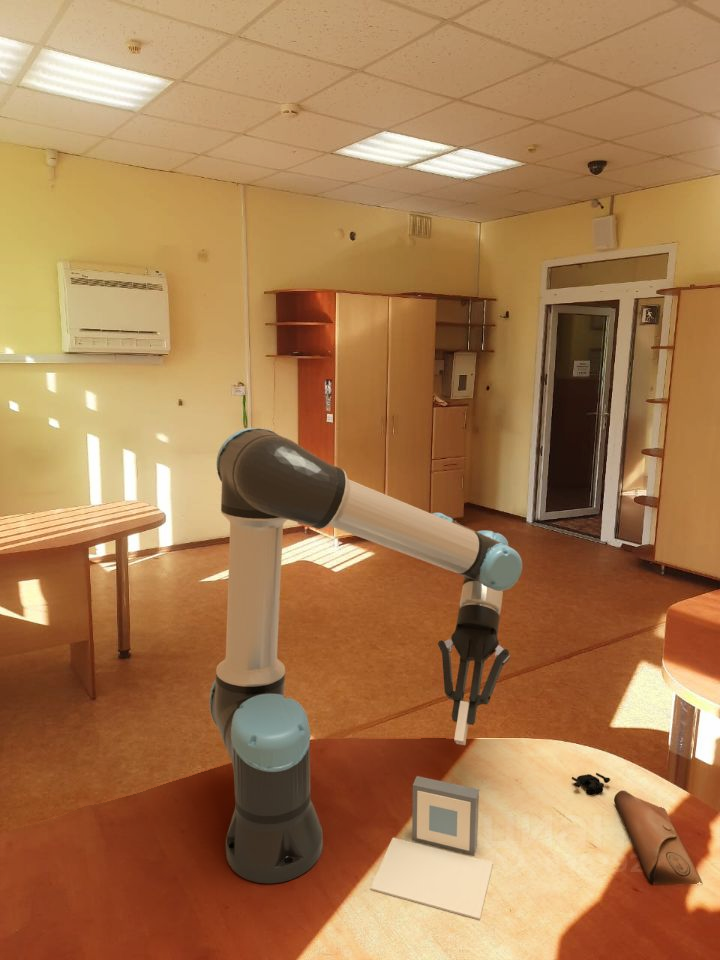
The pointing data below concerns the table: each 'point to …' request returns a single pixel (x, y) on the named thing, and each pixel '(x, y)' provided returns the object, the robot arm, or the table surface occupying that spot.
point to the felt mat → (434, 878)
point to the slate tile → (445, 815)
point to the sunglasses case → (656, 841)
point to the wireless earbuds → (590, 783)
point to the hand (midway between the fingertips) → (459, 742)
